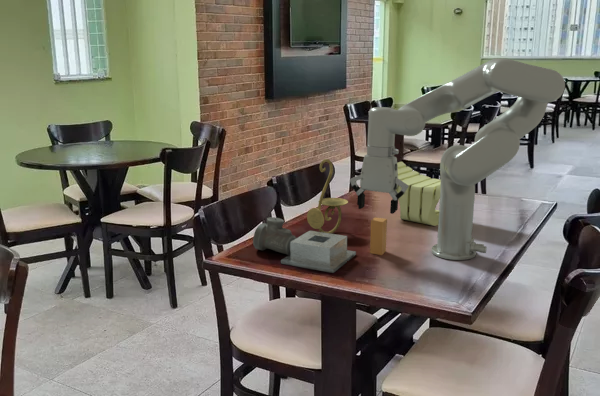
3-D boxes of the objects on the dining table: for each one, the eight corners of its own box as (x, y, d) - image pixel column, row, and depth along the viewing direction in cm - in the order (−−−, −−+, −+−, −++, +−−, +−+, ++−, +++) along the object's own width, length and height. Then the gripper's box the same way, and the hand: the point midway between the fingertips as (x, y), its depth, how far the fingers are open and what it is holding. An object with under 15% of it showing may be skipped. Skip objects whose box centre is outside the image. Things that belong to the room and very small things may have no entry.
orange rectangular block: (385, 251, 172) (387, 218, 169) (381, 255, 168) (382, 222, 166) (374, 249, 173) (375, 217, 171) (370, 253, 170) (370, 220, 168)
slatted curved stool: (376, 216, 208) (377, 167, 203) (399, 207, 219) (401, 161, 215) (454, 233, 189) (457, 179, 184) (475, 222, 200) (479, 171, 196)
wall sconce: (326, 242, 179) (327, 163, 173) (303, 236, 185) (303, 159, 179) (353, 232, 189) (354, 156, 183) (330, 227, 196) (331, 153, 189)
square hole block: (355, 254, 169) (356, 235, 167) (333, 272, 155) (333, 251, 153) (306, 246, 176) (306, 227, 174) (280, 263, 162) (280, 243, 161)
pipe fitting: (249, 250, 171) (254, 217, 169) (264, 245, 178) (269, 213, 176) (284, 262, 165) (289, 228, 163) (298, 256, 172) (303, 223, 170)
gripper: (414, 152, 163) (409, 211, 167) (356, 147, 170) (354, 203, 175) (406, 156, 156) (401, 217, 161) (346, 150, 164) (344, 209, 168)
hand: (376, 210), depth 168 cm, fingers open, 9 cm apart
